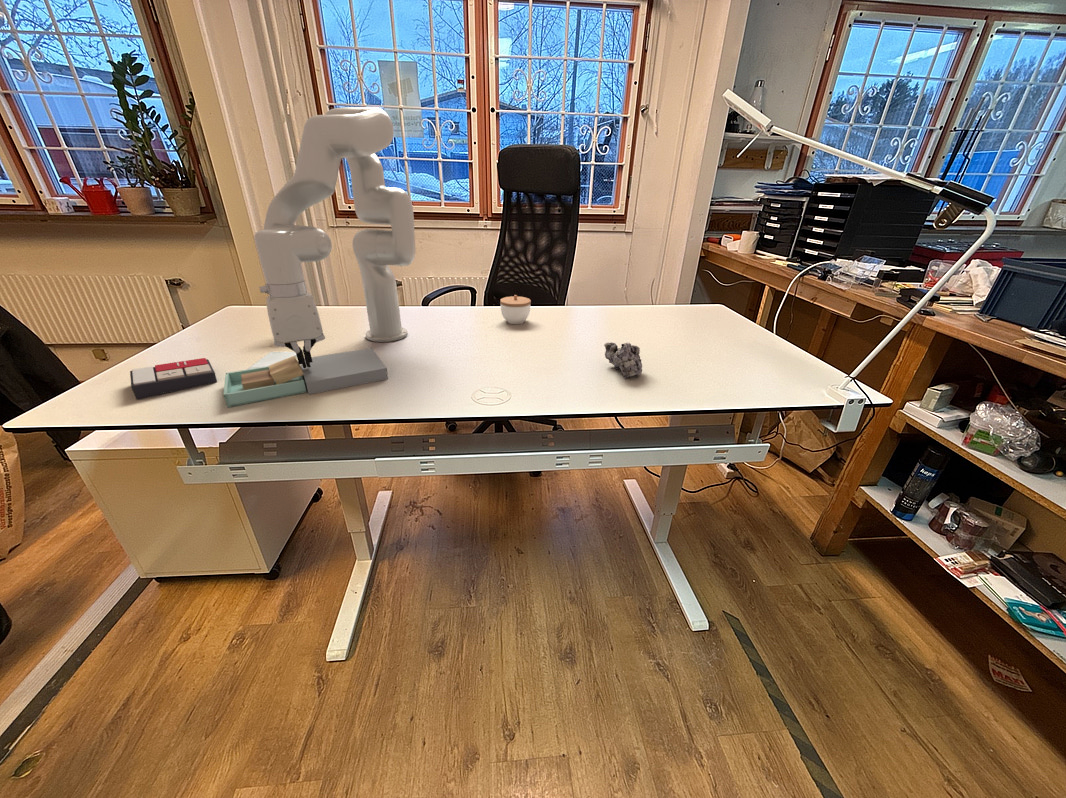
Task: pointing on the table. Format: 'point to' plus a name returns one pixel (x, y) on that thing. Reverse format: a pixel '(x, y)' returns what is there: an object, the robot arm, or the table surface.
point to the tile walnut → (257, 380)
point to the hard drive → (272, 359)
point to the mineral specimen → (624, 358)
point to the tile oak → (285, 370)
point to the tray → (258, 389)
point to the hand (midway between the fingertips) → (306, 365)
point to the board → (343, 370)
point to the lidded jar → (515, 309)
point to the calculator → (171, 377)
